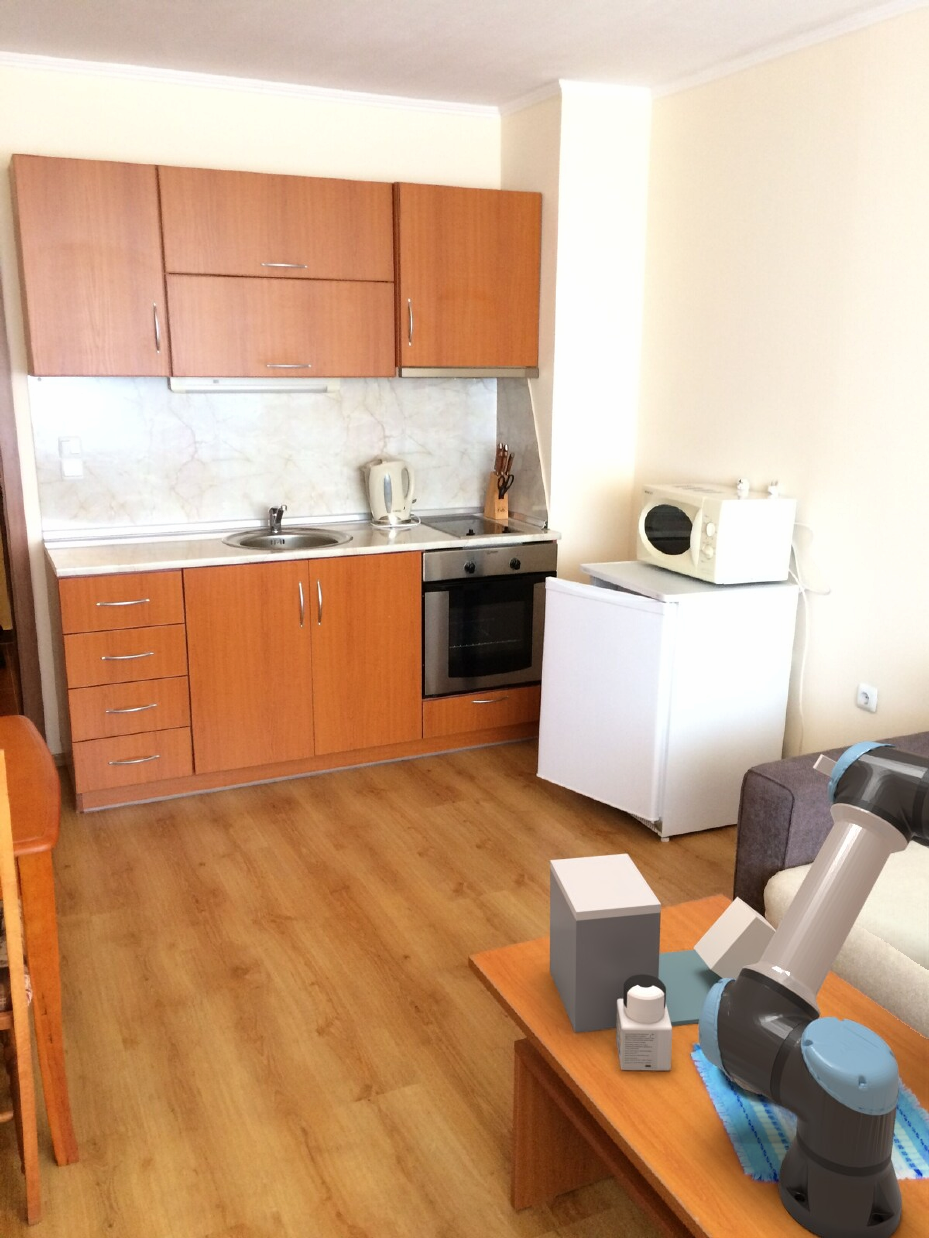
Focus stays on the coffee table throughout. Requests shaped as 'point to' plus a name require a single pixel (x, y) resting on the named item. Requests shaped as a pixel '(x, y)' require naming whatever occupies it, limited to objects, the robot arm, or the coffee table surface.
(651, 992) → the container
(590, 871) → the stand
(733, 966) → the tall white block
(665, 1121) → the coffee table surface
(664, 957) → the mat
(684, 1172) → the coffee table surface
